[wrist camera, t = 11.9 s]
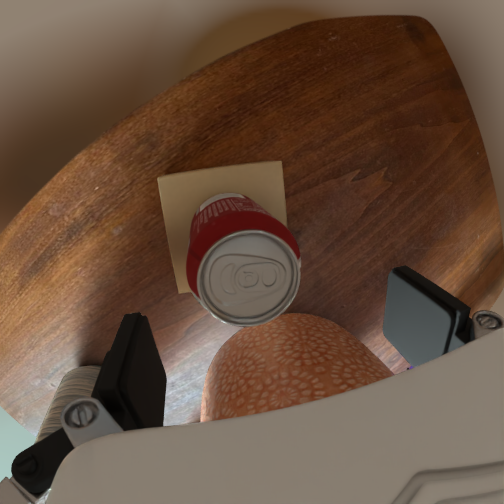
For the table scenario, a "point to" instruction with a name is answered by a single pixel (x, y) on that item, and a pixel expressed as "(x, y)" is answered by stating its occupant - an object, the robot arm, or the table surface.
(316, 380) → the planter
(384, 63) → the table surface
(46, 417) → the vase
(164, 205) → the oak block
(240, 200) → the soda can
